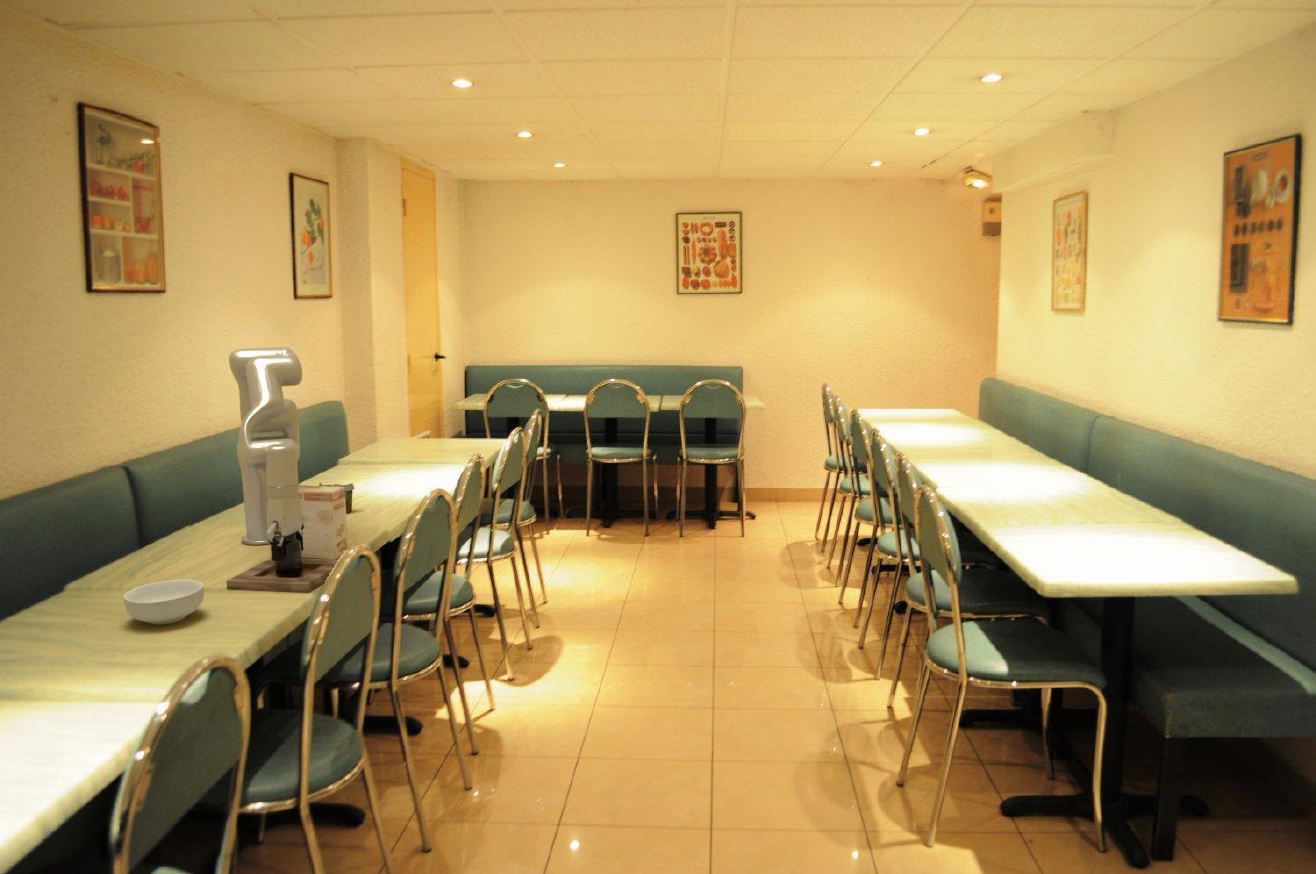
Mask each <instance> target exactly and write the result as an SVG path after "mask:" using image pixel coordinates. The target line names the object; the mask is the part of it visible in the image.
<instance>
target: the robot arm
mask: <svg viewBox="0 0 1316 874" xmlns="http://www.w3.org/2000/svg"><path fill="white" fill-rule="evenodd" d="M228 364H229V368H230V371H231V373H232V375H233V378H234V379H235V381H236V384H237V386H238V394H239V409H240V410H239V412H240V423H241V424H240V426H239V431H238V443H237V446H236V454H237V455H236V456H237V459H238V463H239V467H240V471H241V472H240V473H241V482H242V491H243V493H242V495H243V506H244V516H245V517H244V518H245V528H246V529H245V531H246V533H245V535H243V536H242V537H240V538H241V540H240V541H241V543H242V544H245V545H249V546H250V545H251V546H257V545H258V546H259V545H261V546H262V545H269V547H270V553H271V554H270V555H271V558H272V561H284V546H282V543H283V539H284V537H287V536H289V535H291V534H292V533H294V532H296V537H295V538H296V539H298V540H299V541H300V542H301V551H303V528H304V525H303V524H304V519H305V518H304V517H303V516H302V514H301V506H300V500H299V474H298V472H299V471H298V462H299V460H300V457H301V443H300V442H301V441H300V440H301V439H300V420H299V419H300V418H299V411H298V407H297V405H296V403H295V402H294V401H293V400H292V399H290V398H285V397H284V392H283V388H282V387H293V386H298V385H300V384H301V382H302V379H303V367H302V364H301V361H300V359H299V357H298V356H297V355H296V352H295V351H294V350H293V349H292V348H290V347H287V346H286V347H284V346H283V347H280V346H279V347H252V348H239V349H235V350H233V351H231V352H230V354H229V357H228ZM273 432H282V433H278V434H277V433H276V434H275V433H273ZM251 433H253V434H256V433H261V435H251ZM262 433H273V434H262ZM277 538H279V541H278V539H277Z"/></svg>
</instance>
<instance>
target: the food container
mask: <svg viewBox="0 0 1316 874" xmlns="http://www.w3.org/2000/svg"><path fill="white" fill-rule="evenodd" d="M318 486H326V487H345V502H346V515H348V514H352V513H353V512H352V511H353V510H352V509H353V490H355V486H354V484H353V482H352V483H348V484H339V483H338V484H336V483H335V484H322V482H319V483H318Z"/></svg>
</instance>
